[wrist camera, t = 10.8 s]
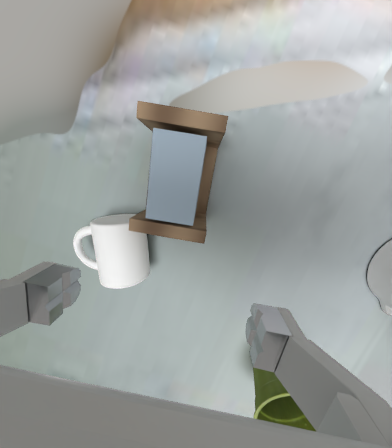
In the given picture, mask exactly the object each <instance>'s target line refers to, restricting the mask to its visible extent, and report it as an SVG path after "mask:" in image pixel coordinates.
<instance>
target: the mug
mask: <svg viewBox="0 0 392 448" xmlns="http://www.w3.org/2000/svg"><path fill="white" fill-rule="evenodd" d="M135 215H136V214H117V215H109V216H104V217H100V218H96V219H94V220H92V221H91V222H90V225H89V226H85V227H83V228H81V229H79V230H78V231H77V232H76V234H75V236H74V240H73V246H74V250H75V252H76V254H77V256H78V257H79V259H80V260H81V261H82V262H83V263H84V264H85V265H87V266H88V267H90V268H92V269H95V270H98V273H99V278H100V283H101V284H102V285H103V286H105V287H107V288H112V289H120V288H126V287H130V286H134V285H136V284H138V283H140V282H142V281H143V280H145V279H146V278H147V277H148V276H149V274H150V263H149V252H148V241H147V234H145V233H139V232H133V231H129V218H131V217H133V216H135ZM87 235H92V238H93V244H94V250H95V255H96V261H95V260H92V259H90V258H89V257H88V256H87V255H86V254H85V252H84V249H83V246H82V238H83V237H85V236H87Z"/></svg>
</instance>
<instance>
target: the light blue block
mask: <svg viewBox="0 0 392 448" xmlns="http://www.w3.org/2000/svg"><path fill="white" fill-rule="evenodd" d="M206 145H207V136H201V135H195V134H189V133H183V132H177V131H171V130H164V129H158V128H153V138H152V149H151V160H150V172H149V183H148V194H147V206H146V217H145V218H148V219H154V220H160V221H166V222H172V223H178V224H184V225H190V226H193V223H194V218H195V213H196V207H197V201H198V195H199V188H200V182H201V176H202V170H203V163H204V157H205V151H206Z"/></svg>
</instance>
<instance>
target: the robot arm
mask: <svg viewBox="0 0 392 448" xmlns="http://www.w3.org/2000/svg"><path fill="white" fill-rule="evenodd" d="M80 277H81V270H80V269H79V268H76V267H71V266H67V265H62V264H57V263H53V262H42V263H40V264H38V265H36V266H34V267H32V268H30V269H28V270H26V271H25V272H23V273H21V274H19V275H17V276H15V277H13V278H11V279H2V280H0V337H1V336H3V335H5V334H7V333H9V332H11V331H13V330H15V329H17V328H19V327H21V326H24V325H26V324H28V323H29V322H32V323H38V324H43V325H49V326H50V325H51V324H52V323H53V322H54V321H55V320H56V319H57V318H58V317H59V316H60V315H62V314H63V309H64V308H67V307H69V306H71V305H72V304H73V303H74V302H75V301H76V300H77V298H78V296H79V294H80V290H81V285H80V283H79V282H78V279H79V278H80ZM367 281H368V285H369V288H370V290H371V291H372V293H373V294H374V295H375V296H376V297H377V298H378V299H379V301H380V305H381V309H382V310H383V312H385V313H386V314H388V315H390V316H392V240H390V241H389V242H387V243H386V244H385V245H384V246H383V247H381V248H380V249H379V251H378V252H377V253H376V254H375V256H374V257H373V259H372V260H371V262H370V265H369V268H368V272H367ZM250 311H251V314H252V316H251V317H249V318H248V320H247V323H246V338H247V342H248V343H249V344H250V346H251V348H250V351H249V352H250V356H251V360H252V364H253V368H258V369H262V370H266V371H270V372H274V373H275V375H276V376H277V378H278V379H279V381H280V382H281V383H282V385H283V386H284V387H285V389H286V390H287V392H288V393H289V394H290V396H291V397H292V398H293V400H294V401H295V402H296V404H297V405H298V407H299V408H300V409H301V411H302V412H303V413H304V415H305V416H306V418H307V419H308V420H309V422H310V423H311V424H312V426H313V427H314V429H315V430H316V432H315V431H310V430H306V429H301V428H296V427H291V426H287V425H282V424H277V423H273V422H268V421H263V420H258V419H254V418H249V417H244V416H240V415H235V414H230V413H225V412H221V411H216V410H211V409H206V408H202V407H197V406H192V405H187V404H183V403H178V402H173V401H168V400H164V399H159V398H154V397H149V396H145V395H140V394H135V393H130V392H126V391H121V390H116V389H112V388H107V387H102V386H98V385H93V384H88V383H83V382H79V381H74V380H69V379H65V378H60V377H55V376H50V375H46V374H41V373H36V372H32V371H27V370H22V369H17V368H13V367H8V366H3V365H0V448H392V408H391V407H390V406H389V404H388V403H387V402H386V401H385V400H384V399H383V398H381V397H380V396H379V395H378V394H376V393H375V392H374V391H373V390H372V389H370V388H369V387H368V386H367V385H365V384H364V383H363V382H362V381H360V380H359V379H358V378H357V377H355V376H354V375H353V374H352V373H350V372H349V371H348V370H347V369H346V368H344V367H343V366H342V365H341V364H339V363H338V362H337V361H336V360H334V359H333V358H332V357H331V356H329V355H328V354H327V353H326V352H324V351H323V350H322V349H321V348H320V347H318V346H317V345H316V344H315V343H313V342H312V341H311V340H307V339H306V337H305V336H304V334H303V332H302V331H301V329H300V327H299V326H298V324H297V322H296V321H295V319H294V318H293V316H292V314H291V313H290V311H289V310H288V309H285V308H279V307H272V306H266V305H261V304H255V303H253V305H252V307H251V310H250Z"/></svg>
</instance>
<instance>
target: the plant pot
mask: <svg viewBox="0 0 392 448" xmlns="http://www.w3.org/2000/svg"><path fill="white" fill-rule="evenodd" d="M253 371H254V383H255V395H256V397H255V410H256V411H255V413H254V419H258V420H263V421H268V422H273V423H277V424H282V425H287V426H291V427H296V428H301V429H306V430H310V431H315V432H316V430H315V429H314V427H313V426H312V424H311V423H310V422H309V420H308V419H307V418H306V416H305V415H304V413H303V412H302V411H301V409H300V408H299V407H298V405H297V404H296V402H295V401H294V400H293V398H292V397H291V396H290V394H289V393H288V392H287V390H286V389H285V387H284V386H283V385H282V383H281V382H280V381H279V379H278V378H277V376H276V375H275V373H274V372H270V371H266V370H262V369H258V368H253Z"/></svg>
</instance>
